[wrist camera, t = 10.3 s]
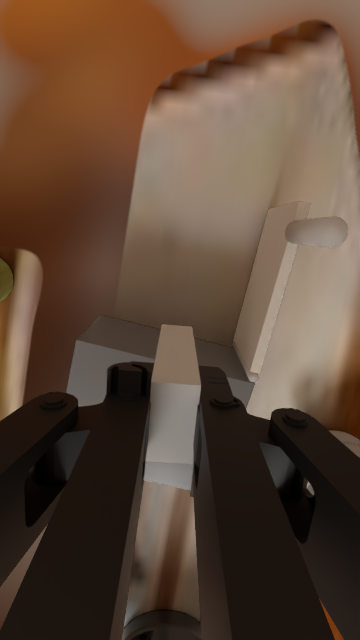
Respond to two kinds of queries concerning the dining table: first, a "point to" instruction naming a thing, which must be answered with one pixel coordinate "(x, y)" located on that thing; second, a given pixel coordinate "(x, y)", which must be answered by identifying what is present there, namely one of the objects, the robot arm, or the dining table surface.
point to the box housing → (141, 345)
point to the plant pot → (5, 280)
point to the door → (277, 275)
